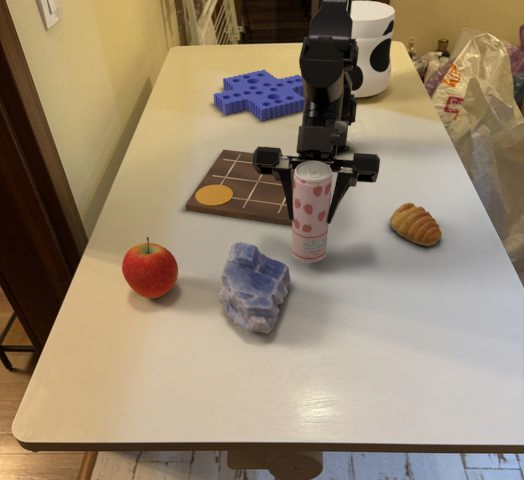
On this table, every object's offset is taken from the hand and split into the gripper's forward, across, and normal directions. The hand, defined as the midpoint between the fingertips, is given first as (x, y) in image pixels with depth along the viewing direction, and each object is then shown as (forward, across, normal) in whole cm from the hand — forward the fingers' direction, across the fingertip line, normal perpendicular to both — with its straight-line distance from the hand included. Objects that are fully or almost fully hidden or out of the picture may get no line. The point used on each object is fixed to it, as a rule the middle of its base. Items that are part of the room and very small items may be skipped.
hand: (309, 221), depth 79 cm
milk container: (-44, +3, +58) cm, 73 cm away
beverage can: (+4, 0, +6) cm, 7 cm away
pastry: (-3, +18, +16) cm, 24 cm away
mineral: (+14, -7, -1) cm, 16 cm away
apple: (+13, -23, -1) cm, 27 cm away
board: (-10, -13, +23) cm, 28 cm away
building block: (-38, -19, +52) cm, 68 cm away
